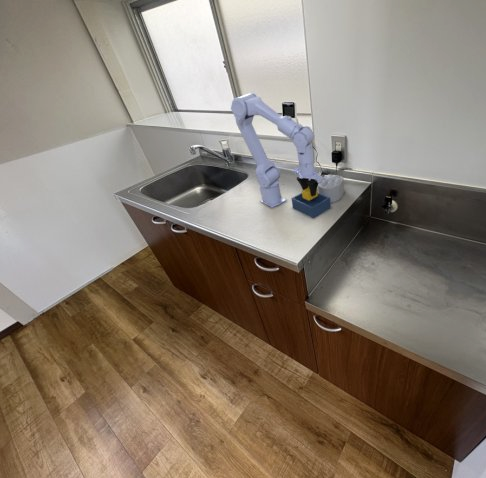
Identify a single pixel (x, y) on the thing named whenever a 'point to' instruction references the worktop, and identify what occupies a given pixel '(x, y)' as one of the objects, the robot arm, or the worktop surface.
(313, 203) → the open box
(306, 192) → the duck
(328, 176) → the lumpy-topped squat cylinder
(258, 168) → the robot arm
